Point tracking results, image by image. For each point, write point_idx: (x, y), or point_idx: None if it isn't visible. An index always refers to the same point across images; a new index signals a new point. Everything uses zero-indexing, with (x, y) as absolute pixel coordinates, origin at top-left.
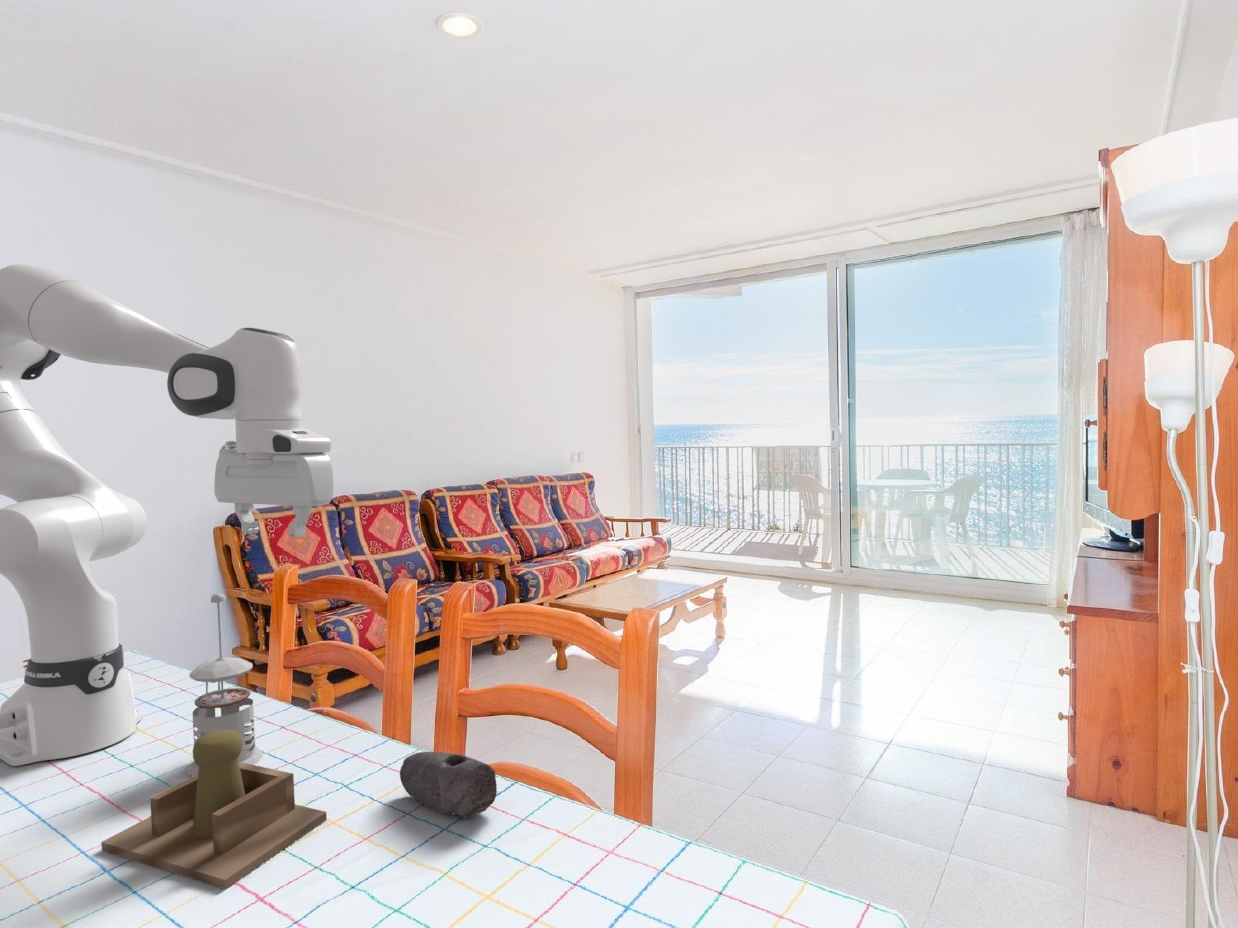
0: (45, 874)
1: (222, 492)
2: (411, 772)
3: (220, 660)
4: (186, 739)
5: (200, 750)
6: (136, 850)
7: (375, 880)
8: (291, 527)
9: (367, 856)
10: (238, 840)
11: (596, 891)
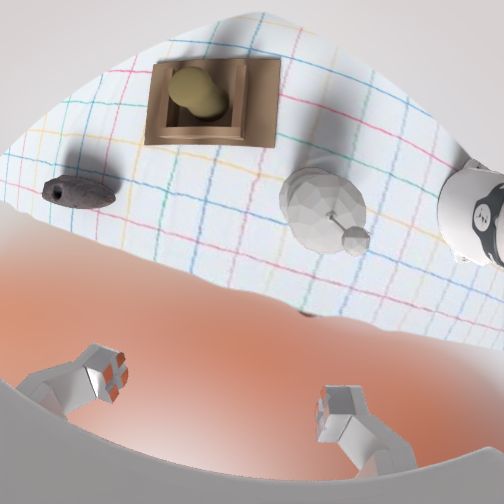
0: (289, 37)
1: (483, 485)
2: (90, 185)
3: (328, 213)
4: (387, 231)
5: (188, 66)
6: (242, 60)
7: (86, 112)
8: (95, 363)
9: (99, 125)
10: None
11: (16, 157)
